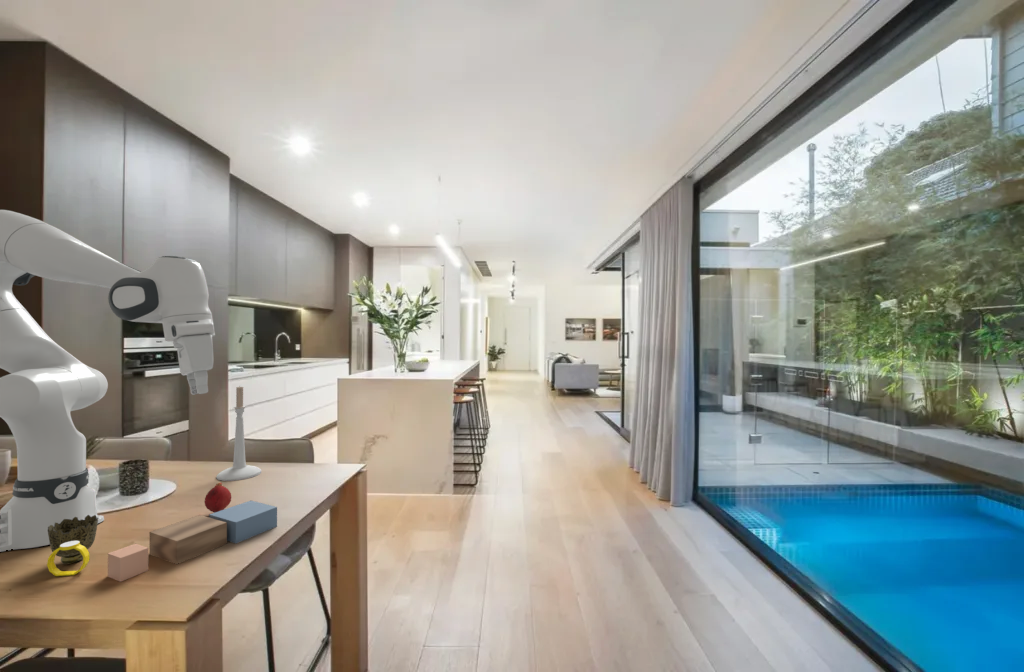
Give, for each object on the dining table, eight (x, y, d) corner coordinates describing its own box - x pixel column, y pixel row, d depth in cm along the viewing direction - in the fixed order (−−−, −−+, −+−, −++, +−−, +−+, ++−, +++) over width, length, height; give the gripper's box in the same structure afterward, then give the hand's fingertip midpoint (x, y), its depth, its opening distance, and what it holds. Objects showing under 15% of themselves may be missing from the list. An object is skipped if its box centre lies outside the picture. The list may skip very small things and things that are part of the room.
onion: (217, 518, 112) (218, 487, 112) (198, 516, 113) (198, 485, 113) (236, 510, 118) (236, 479, 118) (218, 508, 119) (218, 478, 119)
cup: (38, 573, 86) (38, 532, 86) (58, 556, 92) (59, 518, 93) (88, 565, 89) (88, 525, 89) (104, 549, 95) (104, 512, 96)
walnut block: (149, 555, 93) (149, 531, 94) (199, 536, 103) (199, 514, 103) (176, 565, 89) (176, 541, 89) (226, 544, 98) (226, 522, 98)
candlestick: (253, 479, 143) (253, 387, 144) (209, 482, 141) (209, 388, 141) (266, 468, 156) (266, 383, 156) (226, 470, 153) (226, 384, 153)
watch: (43, 580, 83) (43, 548, 83) (54, 573, 86) (54, 542, 86) (82, 576, 85) (82, 544, 85) (92, 568, 88) (92, 538, 88)
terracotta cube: (107, 576, 85) (107, 553, 85) (135, 565, 89) (135, 543, 89) (120, 582, 83) (120, 558, 83) (148, 570, 87) (148, 547, 87)
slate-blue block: (209, 535, 103) (209, 514, 103) (250, 520, 112) (250, 500, 112) (235, 544, 98) (236, 522, 98) (277, 527, 107) (277, 506, 107)
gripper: (166, 337, 101) (176, 397, 101) (176, 326, 86) (187, 396, 85) (200, 334, 105) (209, 391, 105) (215, 323, 90) (225, 390, 90)
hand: (199, 393), depth 95 cm, fingers open, 8 cm apart
